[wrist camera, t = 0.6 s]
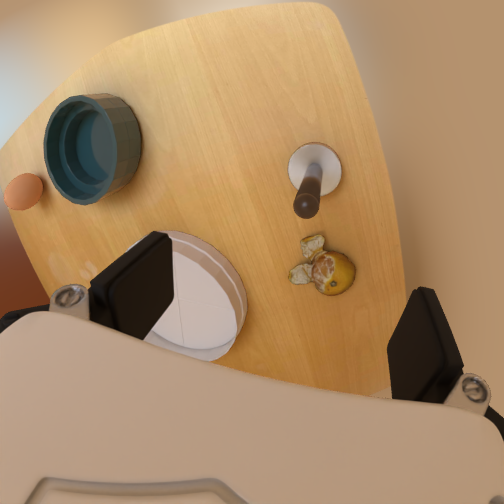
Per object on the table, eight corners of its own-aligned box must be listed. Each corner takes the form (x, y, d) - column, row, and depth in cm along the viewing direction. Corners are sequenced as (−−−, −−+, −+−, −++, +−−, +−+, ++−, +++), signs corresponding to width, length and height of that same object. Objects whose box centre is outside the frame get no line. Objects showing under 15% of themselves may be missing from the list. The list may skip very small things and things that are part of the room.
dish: (245, 356, 50) (237, 377, 46) (136, 327, 55) (123, 343, 50) (251, 241, 40) (240, 258, 36) (117, 221, 44) (97, 234, 40)
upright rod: (294, 138, 33) (266, 158, 19) (345, 147, 32) (358, 176, 18) (287, 186, 36) (256, 241, 22) (335, 196, 35) (338, 258, 21)
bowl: (70, 98, 36) (43, 101, 31) (145, 90, 34) (118, 90, 29) (72, 187, 44) (48, 198, 39) (143, 198, 41) (119, 211, 36)
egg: (32, 164, 44) (-4, 178, 36) (50, 174, 44) (13, 189, 36) (31, 194, 47) (-2, 210, 39) (49, 205, 47) (15, 223, 39)
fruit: (306, 227, 37) (303, 239, 34) (366, 250, 36) (368, 264, 33) (286, 280, 41) (281, 294, 38) (340, 299, 41) (340, 315, 37)
